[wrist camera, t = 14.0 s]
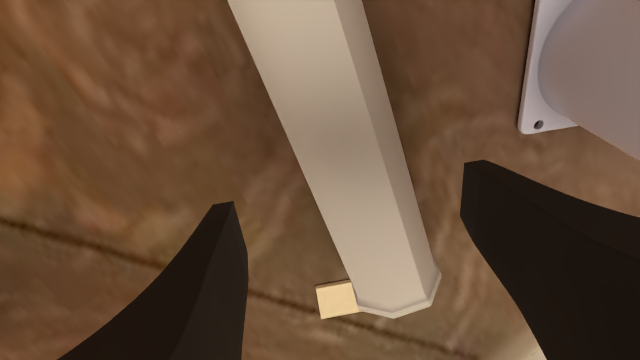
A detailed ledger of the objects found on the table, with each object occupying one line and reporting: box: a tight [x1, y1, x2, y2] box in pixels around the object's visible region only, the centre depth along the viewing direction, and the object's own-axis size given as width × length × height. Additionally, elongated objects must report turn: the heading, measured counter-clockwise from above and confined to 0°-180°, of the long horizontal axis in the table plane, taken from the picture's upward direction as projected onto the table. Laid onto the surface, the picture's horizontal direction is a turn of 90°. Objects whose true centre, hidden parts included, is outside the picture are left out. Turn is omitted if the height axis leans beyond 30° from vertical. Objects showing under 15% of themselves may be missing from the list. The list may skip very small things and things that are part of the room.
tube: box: [227, 0, 442, 319], centre depth 18 cm, size 5×5×25 cm
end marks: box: [315, 280, 361, 319], centre depth 20 cm, size 4×34×1 cm, turn 7°
